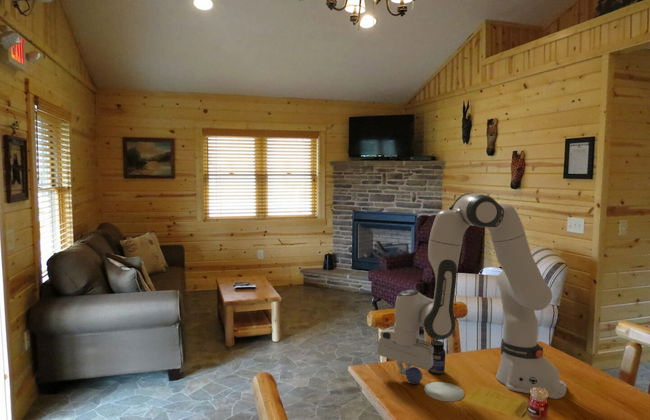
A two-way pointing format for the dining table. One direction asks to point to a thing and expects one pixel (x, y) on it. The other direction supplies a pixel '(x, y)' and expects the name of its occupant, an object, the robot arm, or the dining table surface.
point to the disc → (444, 391)
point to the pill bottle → (438, 358)
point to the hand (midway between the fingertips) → (403, 373)
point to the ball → (413, 375)
